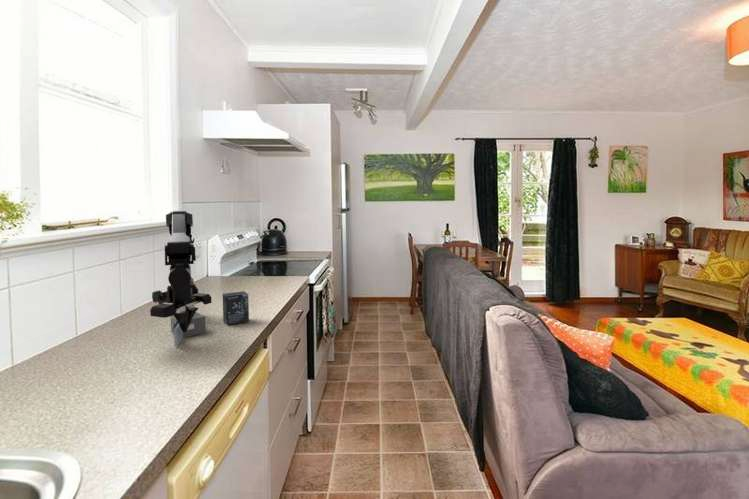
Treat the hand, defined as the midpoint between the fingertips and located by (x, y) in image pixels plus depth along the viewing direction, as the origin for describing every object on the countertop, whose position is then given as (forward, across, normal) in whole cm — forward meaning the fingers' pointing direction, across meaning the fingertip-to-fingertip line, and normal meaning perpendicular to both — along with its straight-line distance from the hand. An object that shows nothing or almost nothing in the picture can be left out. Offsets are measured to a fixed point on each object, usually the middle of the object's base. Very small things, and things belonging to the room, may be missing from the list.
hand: (184, 332), depth 131 cm
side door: (+3, 0, -2) cm, 4 cm away
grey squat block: (+4, -9, -8) cm, 12 cm away
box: (+4, -25, -1) cm, 25 cm away
